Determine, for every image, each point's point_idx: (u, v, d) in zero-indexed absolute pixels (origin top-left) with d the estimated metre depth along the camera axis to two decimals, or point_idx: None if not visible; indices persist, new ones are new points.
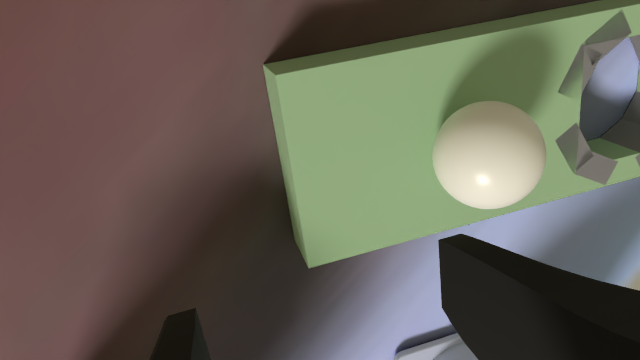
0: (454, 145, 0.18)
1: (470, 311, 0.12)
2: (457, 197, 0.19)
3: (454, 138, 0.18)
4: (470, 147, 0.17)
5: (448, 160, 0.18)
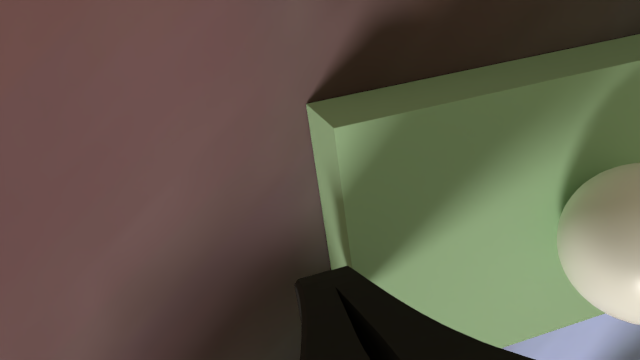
0: (611, 237, 0.11)
1: None
2: (604, 309, 0.12)
3: (610, 225, 0.12)
4: None
5: (599, 258, 0.12)
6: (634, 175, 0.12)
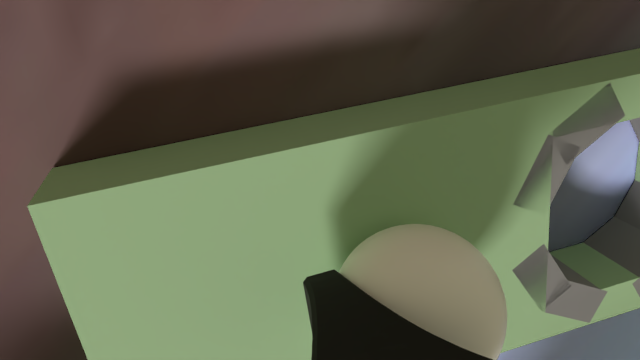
0: None
1: None
2: None
3: None
4: None
5: None
6: (387, 242, 0.11)
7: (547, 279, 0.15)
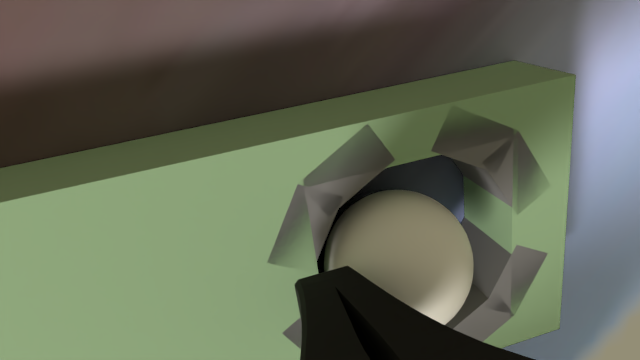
0: None
1: None
2: None
3: None
4: None
5: None
6: (366, 201, 0.13)
7: None
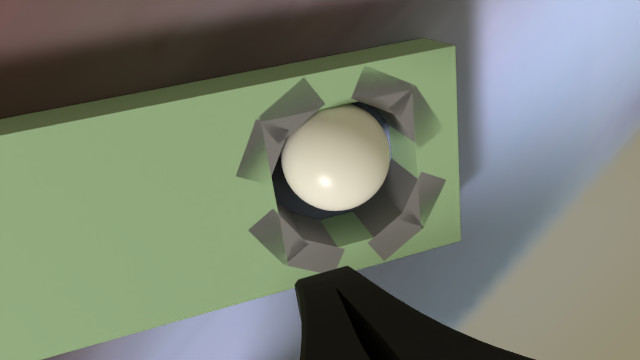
0: None
1: None
2: None
3: None
4: None
5: None
6: None
7: (283, 238, 0.19)
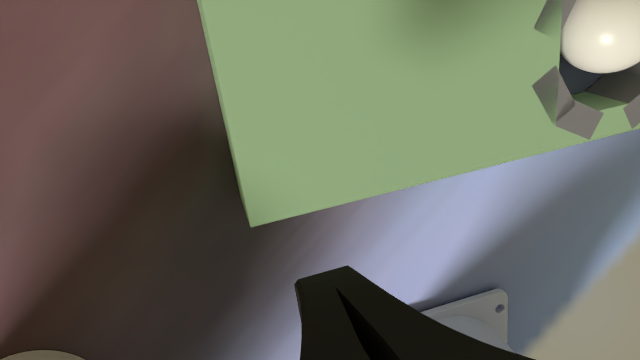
0: None
1: None
2: None
3: None
4: None
5: None
6: None
7: (558, 96, 0.20)
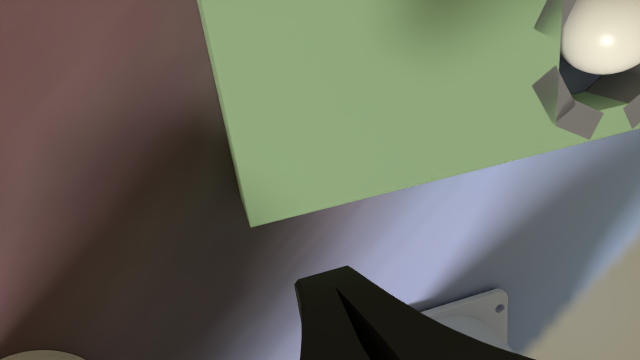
0: None
1: None
2: None
3: None
4: None
5: None
6: None
7: (558, 96, 0.20)
